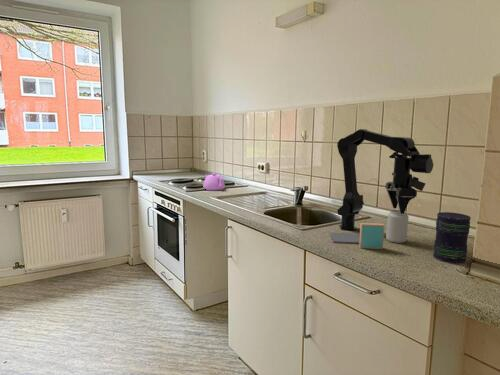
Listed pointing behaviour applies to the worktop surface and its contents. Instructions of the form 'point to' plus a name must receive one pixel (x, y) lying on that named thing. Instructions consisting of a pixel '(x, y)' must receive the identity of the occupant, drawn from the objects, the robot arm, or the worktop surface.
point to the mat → (345, 238)
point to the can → (397, 226)
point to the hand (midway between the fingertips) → (398, 210)
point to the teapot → (213, 182)
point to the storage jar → (451, 237)
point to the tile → (371, 235)
